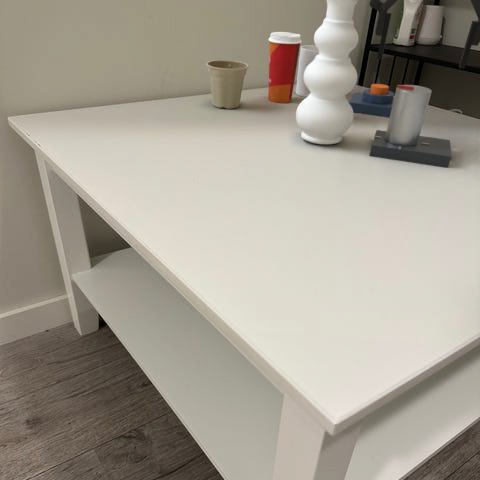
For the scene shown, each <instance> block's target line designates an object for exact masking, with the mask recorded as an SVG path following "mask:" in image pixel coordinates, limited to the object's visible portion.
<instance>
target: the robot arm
mask: <svg viewBox="0 0 480 480" xmlns="http://www.w3.org/2000/svg"><path fill="white" fill-rule="evenodd" d="M397 2H398V0H386V1H382V0H370V1H369V7H370V8H372V9H374V10H376V11H377V12H378V17H377V21H376V22H377V23H376V26H375V27H376V28H375V36H380V41H379V45H378V51H377V55H376V60H382V59H383V57H384V53H385V52H384V51H385V47H386V43H387V38H388V33H389V28H390V23H391V18H392V13H391V12H389V10H390V9H391V8H392V7H393V6H394V5H395V3H397ZM470 2H471V5H472V7H473V10H474V12H475V15H476V17H477V20H472V21H471V24H470V28H469V31H468V34H467V37H466V40H465V44H464V47H463V50H462V54H461V57H460V60H459V64H458V68H459V69H462V70H465V67H466V65H467V62H468V59H469V55H470V52H471V49H472V46H477V47H478V45H480V0H470Z"/></svg>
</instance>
